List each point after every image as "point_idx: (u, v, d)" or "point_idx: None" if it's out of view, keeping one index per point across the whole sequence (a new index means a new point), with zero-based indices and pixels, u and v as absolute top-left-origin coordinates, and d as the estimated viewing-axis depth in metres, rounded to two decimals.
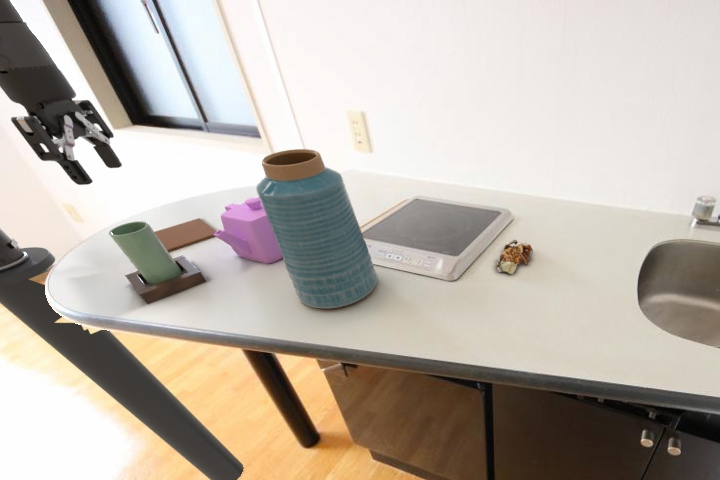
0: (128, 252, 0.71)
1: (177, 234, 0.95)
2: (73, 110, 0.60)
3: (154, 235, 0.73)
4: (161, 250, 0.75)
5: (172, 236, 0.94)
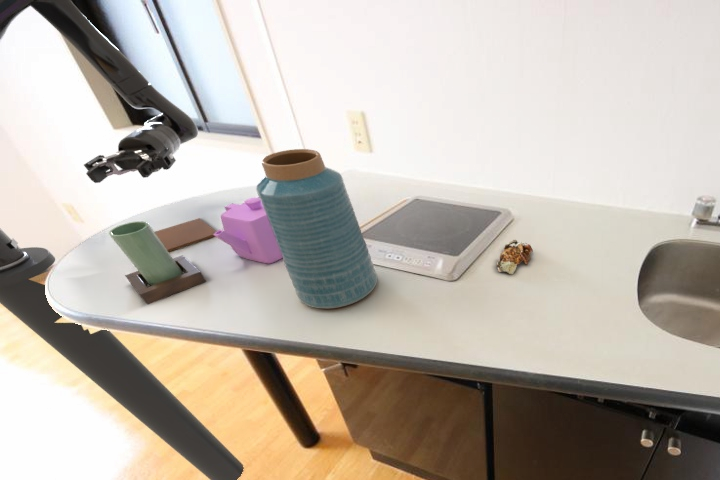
0: (128, 252, 0.71)
1: (177, 234, 0.95)
2: None
3: (154, 235, 0.73)
4: (161, 250, 0.75)
5: (172, 236, 0.94)
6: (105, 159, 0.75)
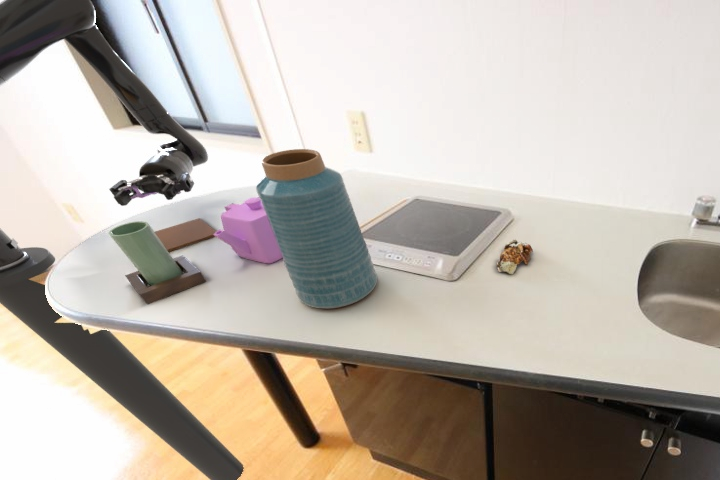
0: (128, 252, 0.71)
1: (177, 234, 0.95)
2: None
3: (154, 235, 0.73)
4: (161, 250, 0.75)
5: (172, 236, 0.94)
6: (129, 183, 0.80)
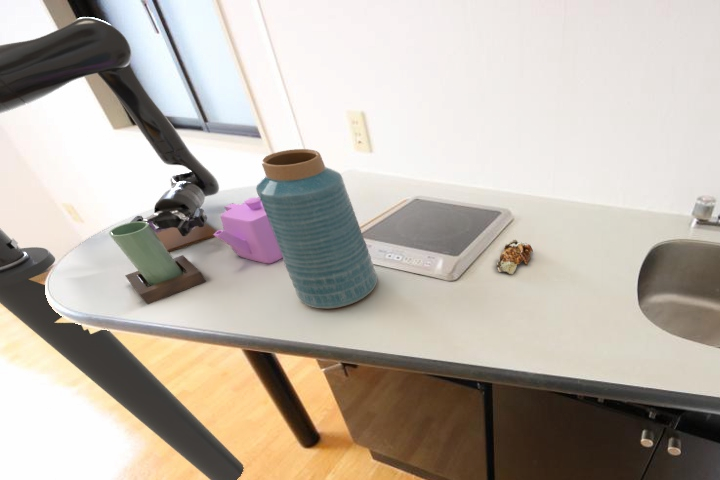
0: (128, 252, 0.71)
1: (177, 234, 0.95)
2: None
3: (154, 235, 0.73)
4: (161, 250, 0.75)
5: (172, 236, 0.94)
6: (146, 220, 0.82)
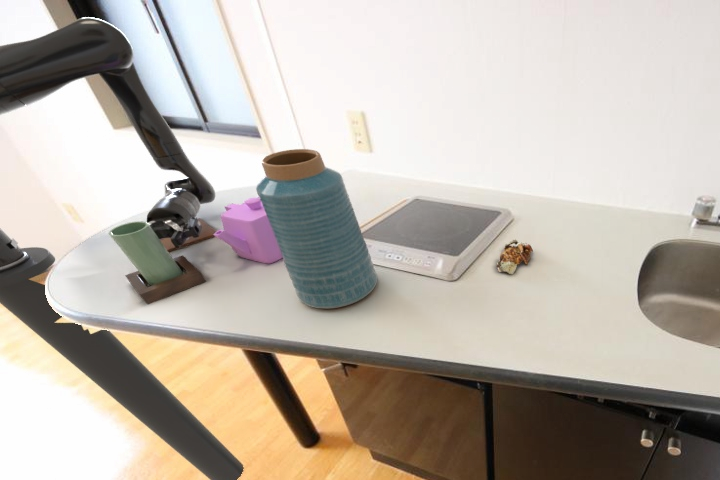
0: (128, 252, 0.71)
1: None
2: None
3: (154, 235, 0.73)
4: (161, 250, 0.75)
5: None
6: None
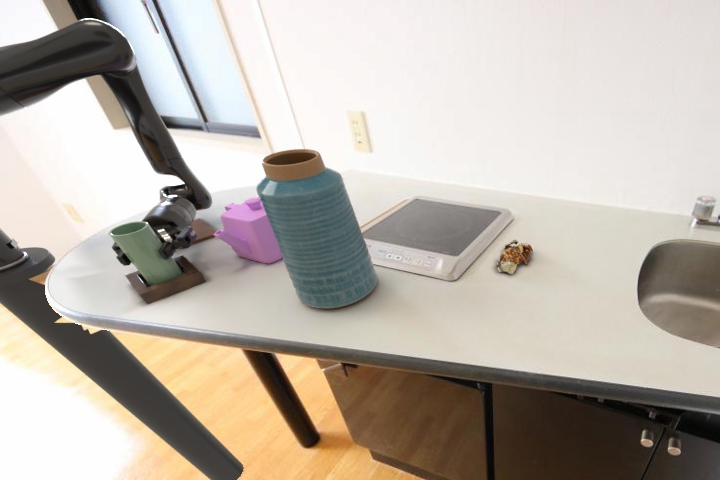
0: (128, 252, 0.71)
1: None
2: None
3: (154, 235, 0.73)
4: None
5: None
6: None
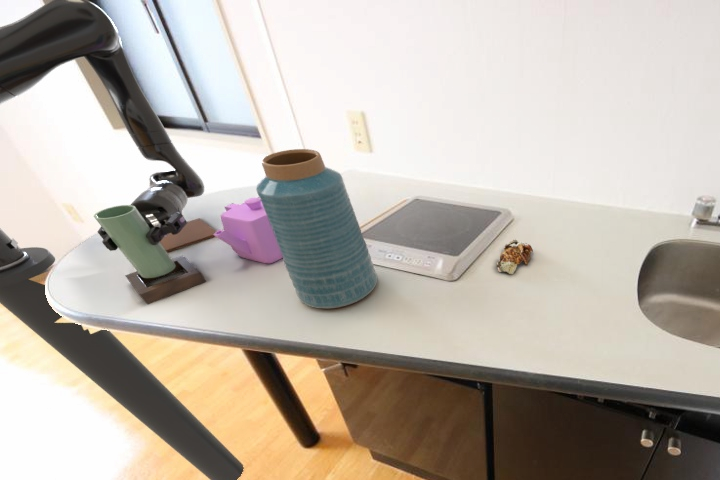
0: (114, 236, 0.69)
1: (177, 234, 0.95)
2: None
3: (141, 219, 0.71)
4: None
5: (172, 236, 0.94)
6: None
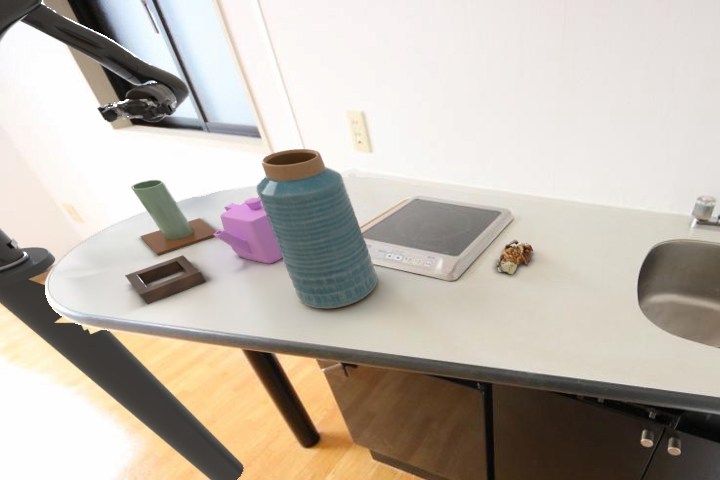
0: (146, 204, 0.87)
1: None
2: None
3: (167, 191, 0.89)
4: (173, 204, 0.90)
5: None
6: (116, 104, 0.88)
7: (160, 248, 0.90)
